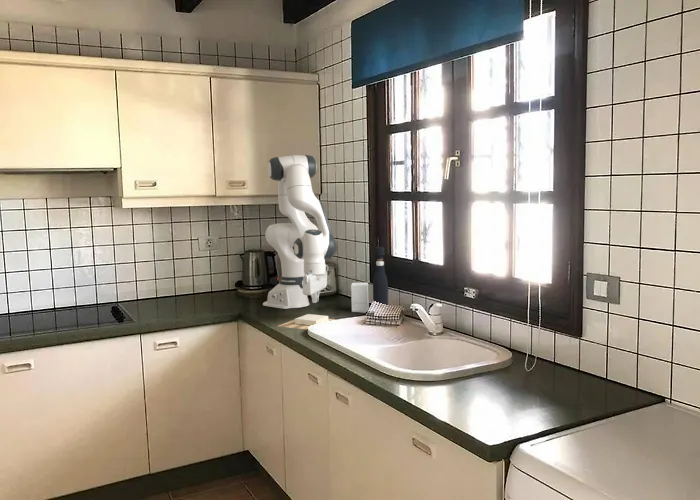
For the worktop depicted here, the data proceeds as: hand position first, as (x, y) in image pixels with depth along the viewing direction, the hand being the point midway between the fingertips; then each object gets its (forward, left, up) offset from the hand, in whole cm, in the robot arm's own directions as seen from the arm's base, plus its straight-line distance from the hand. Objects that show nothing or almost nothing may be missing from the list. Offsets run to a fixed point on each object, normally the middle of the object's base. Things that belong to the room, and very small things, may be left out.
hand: (315, 302), depth 269 cm
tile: (0, +2, -7) cm, 7 cm away
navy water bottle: (+20, +21, -9) cm, 30 cm away
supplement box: (+7, +27, -9) cm, 29 cm away
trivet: (0, -4, -9) cm, 10 cm away
